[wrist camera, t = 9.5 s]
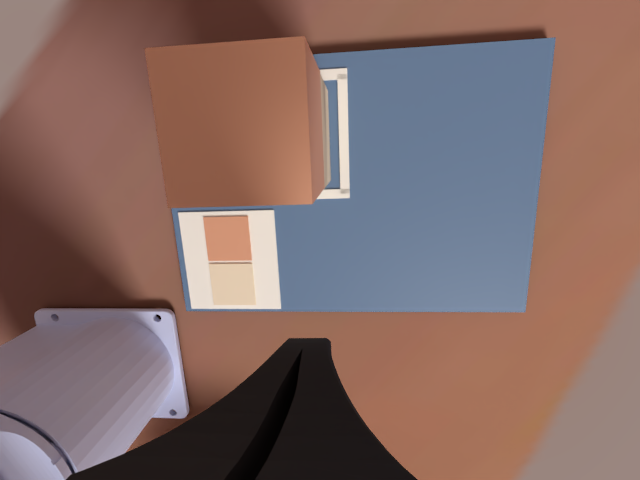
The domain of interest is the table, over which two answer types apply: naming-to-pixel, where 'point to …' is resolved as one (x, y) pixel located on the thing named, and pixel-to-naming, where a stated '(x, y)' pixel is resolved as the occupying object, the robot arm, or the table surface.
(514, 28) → the table surface
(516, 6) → the table surface
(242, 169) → the terracotta cube
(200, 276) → the board
